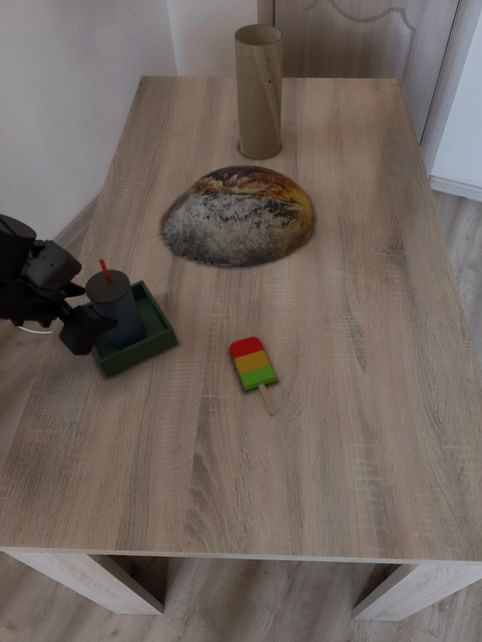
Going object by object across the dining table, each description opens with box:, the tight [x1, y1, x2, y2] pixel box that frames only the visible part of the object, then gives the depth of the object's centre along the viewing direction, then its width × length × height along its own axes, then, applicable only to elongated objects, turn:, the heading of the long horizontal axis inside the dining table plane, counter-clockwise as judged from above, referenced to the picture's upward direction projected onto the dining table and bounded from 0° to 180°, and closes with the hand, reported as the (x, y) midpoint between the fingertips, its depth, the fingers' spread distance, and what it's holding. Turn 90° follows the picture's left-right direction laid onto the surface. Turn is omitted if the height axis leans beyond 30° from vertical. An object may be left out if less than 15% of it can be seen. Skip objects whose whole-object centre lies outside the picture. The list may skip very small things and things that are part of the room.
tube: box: [234, 23, 284, 160], centre depth 107 cm, size 10×10×25 cm
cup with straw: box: [84, 258, 146, 350], centre depth 77 cm, size 7×7×18 cm
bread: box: [162, 164, 315, 267], centre depth 98 cm, size 27×32×10 cm
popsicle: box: [229, 336, 277, 415], centre depth 79 cm, size 6×15×2 cm, turn 20°
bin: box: [82, 279, 178, 378], centre depth 83 cm, size 13×13×4 cm
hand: (100, 307), depth 76 cm, fingers open, 9 cm apart
